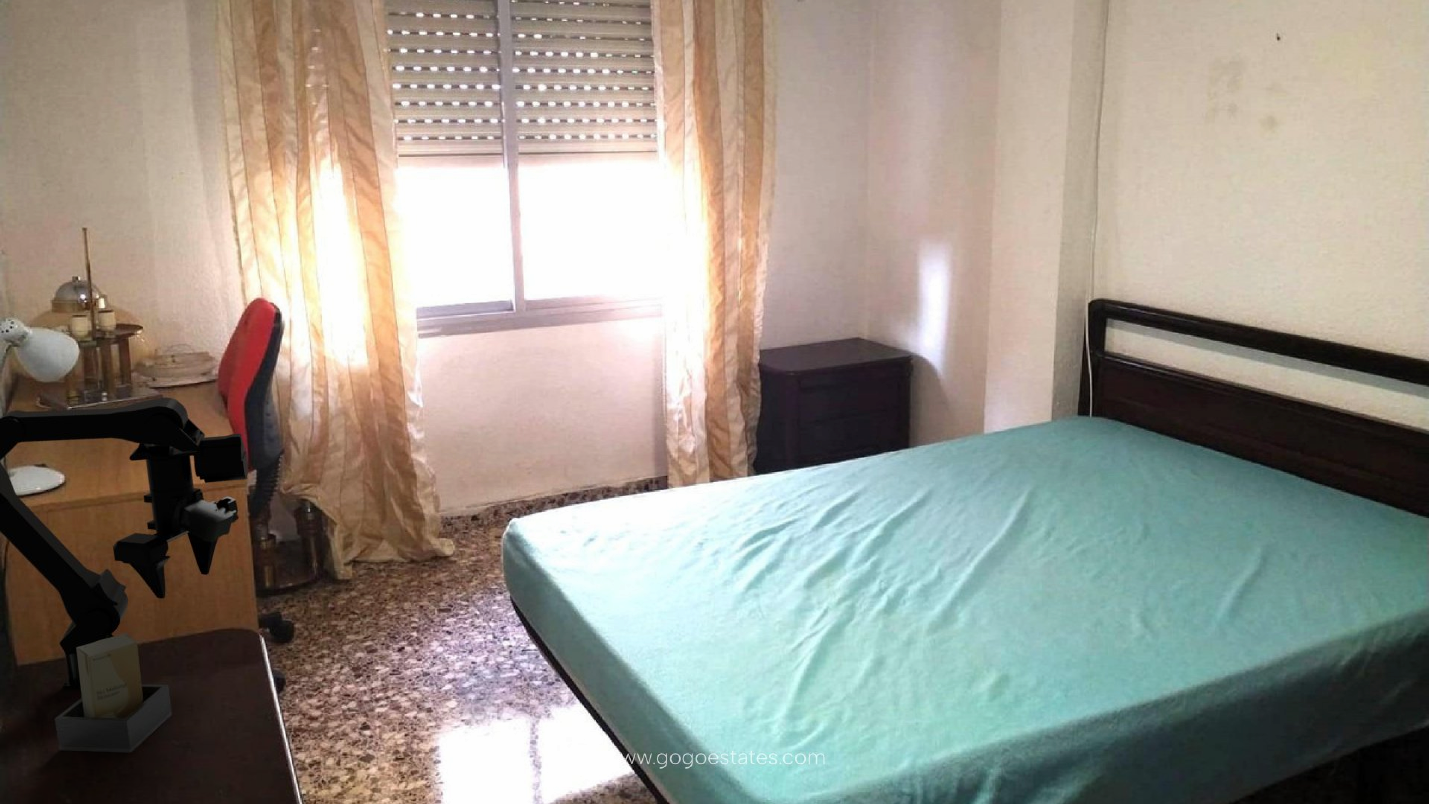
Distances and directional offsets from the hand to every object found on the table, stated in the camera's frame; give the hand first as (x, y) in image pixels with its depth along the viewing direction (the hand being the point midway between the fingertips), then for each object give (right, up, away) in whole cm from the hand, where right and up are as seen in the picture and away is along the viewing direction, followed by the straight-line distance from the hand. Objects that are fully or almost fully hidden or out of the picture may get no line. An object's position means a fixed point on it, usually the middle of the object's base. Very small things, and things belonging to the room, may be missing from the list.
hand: (183, 585), depth 158 cm
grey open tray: (-1, -17, -15) cm, 23 cm away
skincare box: (-1, -17, -15) cm, 23 cm away
